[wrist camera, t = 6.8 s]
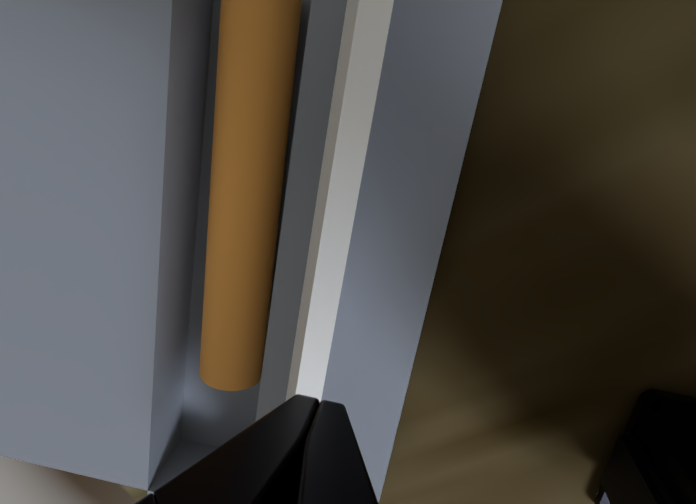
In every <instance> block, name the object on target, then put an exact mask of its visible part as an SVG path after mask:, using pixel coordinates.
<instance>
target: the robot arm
mask: <svg viewBox="0 0 696 504" xmlns="http://www.w3.org/2000/svg"><path fill="white" fill-rule="evenodd" d="M654 400H658V402H657V403H656V404H654V405H649V404H650V403H651V402H652V401H654ZM601 484H602V485H601V488H600V490H599V492H598V495H597V497H596V499H595V504H696V398H693V397H689V396H684V395H679V394H675V393H670V392H665V391H660V390H654V389H651V390H647V391H645V392H643V393H642V394H641V395H640V397H639V399H638V401H637V404H636V406H635V408H634V411H633V413H632V415H631V418H630V420H629V422H628V425H627V427H626V429H625V432H624V433H622V434H621V435H620V436H619V438H618V440H617V442H616V445H615V447H614V449H613V452H612V454H611V457H610V459H609V461H608V464H607V466H606V468H605V471H604V473H603V475H602V478H601ZM135 504H378V501H377V498H376V495H375V492H374V489H373V486H372V483H371V481H370V478H369V475H368V472H367V469H366V466H365V463H364V460H363V457H362V454H361V451H360V448H359V446H358V443H357V440H356V437H355V434H354V431H353V428H352V425H351V422H350V419H349V416H348V413H347V411H346V408H345V406H344V405H343V404H342V403H337V402H333V401H328V400H322V401H320V402H319V400H318V399H317V398H314V397H310V396H305V395H301V394H296V395H294V396H293V397H291V398H290V399H288V400H287V401H285V402H284V403H282V404H281V405H279V406H278V407H276V408H275V409H273V410H272V411H271V412H269V413H268V414H266V415H265V416H263V417H262V418H260V419H259V420H257V421H256V422H254V423H253V424H251V425H250V426H248V427H247V428H246V429H244V430H243V431H241V432H240V433H238V434H237V435H235V436H234V437H232V438H231V439H229V440H228V441H226V442H225V443H223V444H222V445H220V446H219V447H218V448H216V449H215V450H213V451H212V452H210V453H209V454H207V455H206V456H204V457H203V458H201V459H200V460H198V461H197V462H195V463H194V464H193V465H191V466H190V467H188V468H187V469H185V470H184V471H182V472H181V473H179V474H178V475H176V476H175V477H173V478H172V479H170V480H169V481H168V482H166V483H165V484H163V485H162V486H160V487H159V488H157V489H156V490H155V491H154V493H153V494H152V493H150V494H148V495H147V496H145V497H144V498H142V499H141V500H139V501H138V502H136V503H135Z"/></svg>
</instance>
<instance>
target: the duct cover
mask: <svg viewBox="0 0 696 504" xmlns="http://www.w3.org/2000/svg"><path fill="white" fill-rule="evenodd" d="M393 3H394V0H347V5H346V11H345V18H344V24H343V31H342V37H341V44H340V50H339V57H338V63H337V70H336V76H335V83H334V89H333V96H332V102H331V109H330V115H329V122H328V128H327V134H326V141H325V147H324V154H323V160H322V167H321V173H320V180H319V186H318V193H317V199H316V206H315V212H314V219H313V225H312V232H311V238H310V245H309V251H308V258H307V264H306V271H305V277H304V284H303V290H302V296H301V303H300V309H299V316H298V322H297V329H296V335H295V342H294V348H293V355H292V361H291V368H290V374H289V381H288V387H287V394H286V400H285V401H287V400H288V399H290V398H291V397H293V396H294V395H296V394H301V395H305V396H310V397H314V398H317V399H318V400H319V402H320V401H321V399H322V393H323V388H324V382H325V377H326V371H327V366H328V360H329V355H330V349H331V344H332V338H333V333H334V327H335V322H336V316H337V311H338V305H339V300H340V294H341V289H342V283H343V278H344V272H345V267H346V261H347V256H348V250H349V245H350V239H351V234H352V228H353V223H354V217H355V212H356V206H357V201H358V195H359V190H360V184H361V179H362V173H363V168H364V162H365V157H366V151H367V146H368V140H369V135H370V129H371V124H372V118H373V113H374V107H375V102H376V96H377V91H378V85H379V80H380V74H381V69H382V63H383V58H384V52H385V47H386V41H387V36H388V30H389V25H390V19H391V14H392V8H393Z"/></svg>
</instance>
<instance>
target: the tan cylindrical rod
mask: <svg viewBox="0 0 696 504" xmlns="http://www.w3.org/2000/svg"><path fill="white" fill-rule="evenodd" d="M301 6H302V0H221V7H220V24H219V42H218V59H217V76H216V93H215V110H214V127H213V144H212V162H211V179H210V196H209V213H208V230H207V247H206V264H205V282H204V299H203V316H202V333H201V350H200V367H199V375H200V378H201V380H202V381H203V382H204V383H205V384H207V385H208V386H210V387H212V388H215V389H218V390H223V391H239V390H244V389H248V388H250V387H252V386H254V385H256V384H257V383H258V382H259V381H260V380H261V375H262V367H263V360H264V352H265V345H266V336H267V327H268V318H269V308H270V299H271V289H272V280H273V270H274V261H275V252H276V242H277V233H278V223H279V214H280V204H281V195H282V185H283V176H284V167H285V157H286V148H287V138H288V129H289V119H290V110H291V101H292V91H293V82H294V72H295V63H296V53H297V44H298V35H299V25H300V16H301Z"/></svg>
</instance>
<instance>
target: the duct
mask: <svg viewBox="0 0 696 504" xmlns="http://www.w3.org/2000/svg"><path fill="white" fill-rule="evenodd" d="M502 1H503V0H394V3H393V8H392V14H391V19H390V25H389V30H388V36H387V41H386V47H385V52H384V58H383V63H382V69H381V74H380V80H379V85H378V91H377V96H376V102H375V107H374V113H373V118H372V124H371V129H370V135H369V140H368V146H367V151H366V157H365V162H364V168H363V173H362V179H361V184H360V190H359V195H358V201H357V206H356V212H355V217H354V223H353V228H352V234H351V239H350V245H349V250H348V256H347V261H346V267H345V272H344V278H343V283H342V289H341V294H340V300H339V305H338V311H337V316H336V322H335V327H334V333H333V338H332V344H331V349H330V355H329V360H328V366H327V371H326V377H325V382H324V388H323V393H322V399H321V401H322V400H328V401H333V402H337V403H342V404H343V405H344V406H345V408H346V411H347V413H348V416H349V419H350V422H351V425H352V428H353V431H354V434H355V437H356V440H357V443H358V446H359V448H360V451H361V454H362V457H363V460H364V463H365V466H366V469H367V472H368V475H369V478H370V481H371V483H372V486H373V489H374V492H375V495H376V498H377V501H378V502H379V500H380V496H381V492H382V488H383V484H384V480H385V476H386V472H387V468H388V464H389V460H390V456H391V452H392V448H393V443H394V439H395V435H396V431H397V427H398V423H399V419H400V415H401V411H402V407H403V403H404V399H405V395H406V391H407V387H408V383H409V379H410V374H411V370H412V366H413V362H414V358H415V354H416V350H417V346H418V342H419V338H420V334H421V330H422V326H423V322H424V318H425V314H426V310H427V305H428V301H429V297H430V293H431V289H432V285H433V281H434V277H435V273H436V269H437V265H438V261H439V257H440V253H441V249H442V245H443V241H444V236H445V232H446V228H447V224H448V220H449V216H450V212H451V208H452V204H453V200H454V196H455V192H456V188H457V184H458V180H459V176H460V172H461V167H462V163H463V159H464V155H465V151H466V147H467V143H468V139H469V135H470V131H471V127H472V123H473V119H474V115H475V111H476V107H477V103H478V98H479V94H480V90H481V86H482V82H483V78H484V74H485V70H486V66H487V62H488V58H489V54H490V50H491V46H492V42H493V38H494V34H495V29H496V25H497V21H498V17H499V13H500V9H501V5H502ZM346 5H347V0H302V6H301V16H300V25H299V35H298V44H297V53H296V63H295V72H294V82H293V91H292V101H291V110H290V119H289V129H288V138H287V148H286V157H285V167H284V176H283V185H282V195H281V204H280V214H279V223H278V233H277V242H276V252H275V261H274V270H273V280H272V289H271V299H270V308H269V318H268V327H267V336H266V345H265V352H264V360H263V367H262V375H261V380H260V381H259V382H258V383H257V384H256V385H254V386H252V387H250V388H248V389H244V390H239V391H223V390H218V389H215V388H212V387H210V386H208V385H207V384H205V383H204V382H203V381H202V380H201V378H200V375H199V367H200V350H201V333H202V316H203V299H204V282H205V264H206V247H207V230H208V213H209V196H210V179H211V162H212V144H213V127H214V110H215V93H216V76H217V59H218V42H219V24H220V7H221V0H0V456H4V457H8V458H13V459H17V460H21V461H25V462H29V463H33V464H38V465H42V466H47V467H50V468H55V469H59V470H63V471H67V472H71V473H76V474H80V475H84V476H89V477H93V478H97V479H101V480H105V481H110V482H114V483H118V484H122V485H126V486H131V487H135V488H139V489H143V490H147V495H148V494H150V493H152V494H153V493H154V491H155V490H156V489H157V488H159V487H160V486H162V485H163V484H165V483H166V482H168V481H169V480H170V479H172V478H173V477H175V476H176V475H178V474H179V473H181V472H182V471H184V470H185V469H187V468H188V467H190V466H191V465H193V464H194V463H195V462H197V461H198V460H200V459H201V458H203V457H204V456H206V455H207V454H209V453H210V452H212V451H213V450H215V449H216V448H218V447H219V446H220V445H222V444H223V443H225V442H226V441H228V440H229V439H231V438H232V437H234V436H235V435H237V434H238V433H240V432H241V431H243V430H244V429H246V428H247V427H248V426H250V425H251V424H253V423H254V422H256V421H257V420H259V419H260V418H262V417H263V416H265V415H266V414H268V413H269V412H271V411H272V410H273V409H275V408H276V407H278V406H279V405H281V404H282V403H284V402H285V400H286V394H287V387H288V381H289V374H290V368H291V361H292V355H293V348H294V342H295V335H296V329H297V322H298V316H299V309H300V303H301V296H302V290H303V284H304V277H305V271H306V264H307V258H308V251H309V245H310V238H311V232H312V225H313V219H314V212H315V206H316V199H317V193H318V186H319V180H320V173H321V167H322V160H323V154H324V147H325V141H326V134H327V128H328V122H329V115H330V109H331V102H332V96H333V89H334V83H335V76H336V70H337V63H338V57H339V50H340V44H341V37H342V31H343V24H344V18H345V11H346Z"/></svg>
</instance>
